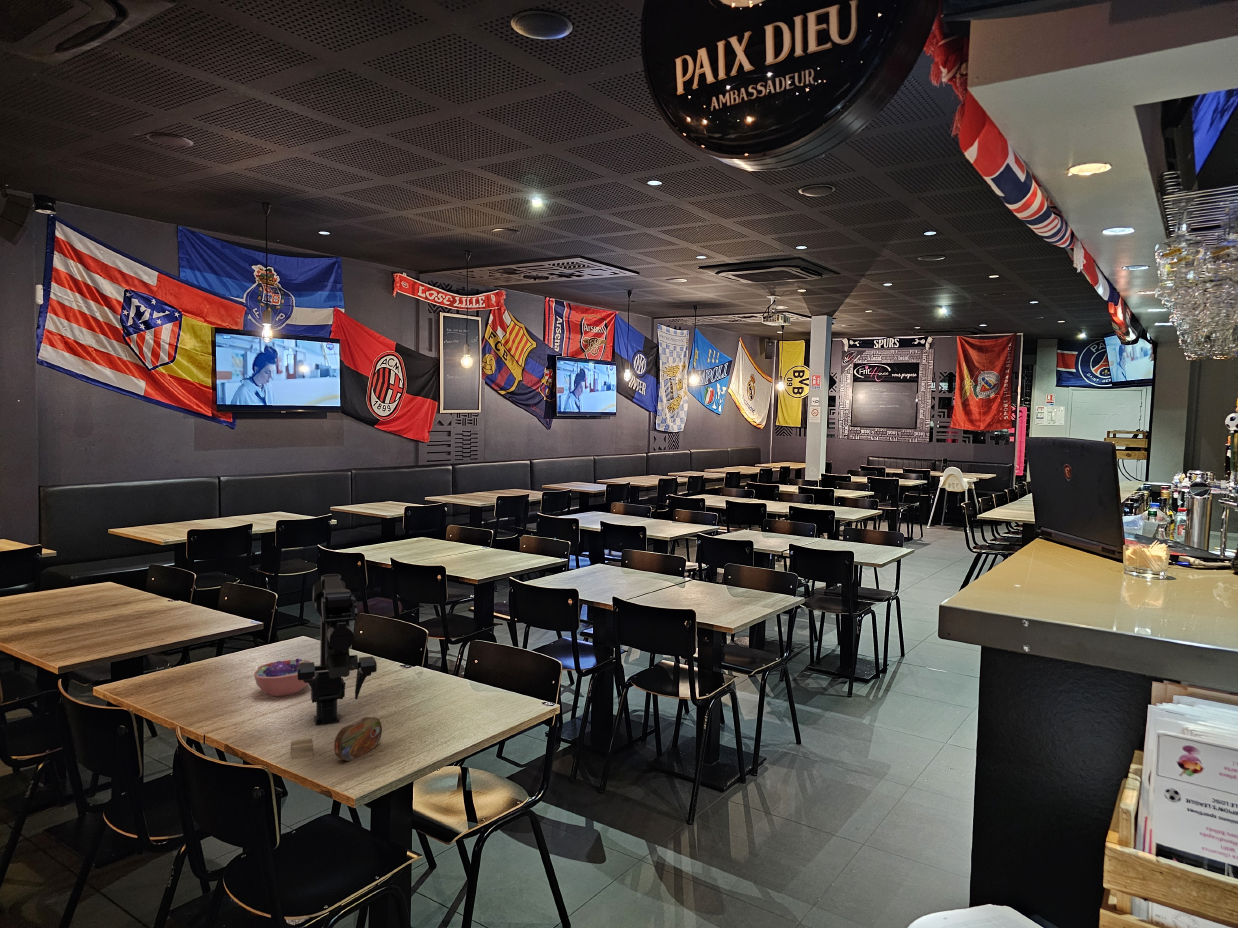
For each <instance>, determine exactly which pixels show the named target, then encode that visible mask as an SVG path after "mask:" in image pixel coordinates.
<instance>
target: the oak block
mask: <svg viewBox="0 0 1238 928" xmlns="http://www.w3.org/2000/svg"><path fill="white" fill-rule="evenodd" d="M313 741H314V740H313V737H305V738H298V739H291V740H290V756H291V760H295V759H302V758H303V759H304V758H309V757H314V742H313Z"/></svg>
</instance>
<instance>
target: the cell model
mask: <svg viewBox="0 0 1238 928" xmlns="http://www.w3.org/2000/svg"><path fill="white" fill-rule="evenodd" d="M310 662H311V661H310V660H307V659H302V658H298V657H297V658H295V659H288V660H277V661H274V662H268V663H265V664H262V665H259V666H258V667H257V670H256V671H255V672H254V673H253V677H254V680H255V685H256V687H258V688H259V689H260V690H261V691H263V693H265V694H266V695H270V696H272V697H277V698H278V697H279V698H280V697H286V696H290V695H293V694H296V693H298V692H300V691H301V690H302V689H304V688H305V687H306V686H308V685H309V684H308V683H304V682H303V680H298V676H297V666H298V665H299V664H300V663H310Z"/></svg>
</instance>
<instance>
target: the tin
mask: <svg viewBox="0 0 1238 928" xmlns="http://www.w3.org/2000/svg"><path fill="white" fill-rule="evenodd" d="M382 733H383V726H382V723H381V720H380V719H379V718H378V717H376V716H373V717H372V716H371V717H370V716H365V717H362V718H361V719H359V720H356V721H354V722H352V723H351V724H348V725H346V726H344V727H342V728H340V730H339V731H338V733H337V735H336V737H335V738H334V749H333V750H334V754H335V756H336V758H337V759H339V760H342V761H346V762H351V761H354V760H356V759H357V758H359V757H361V756H362V755H364V754H366V753H368V752H370V751H372V750H374V749H376V747H377V746H378V744H379V742H380V741H381V737H382Z"/></svg>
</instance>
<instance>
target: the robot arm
mask: <svg viewBox="0 0 1238 928" xmlns="http://www.w3.org/2000/svg"><path fill="white" fill-rule="evenodd" d="M320 576H321V577H320V579H319V580H318V581H317V582H315V583H314V584H313V587H312V603H313V604H314V606H315V607H314V608H315V610H316V612H317V613H318V614H319V616H320V654H319V655H320V656H319V657H320V660H319V661H320V663H319V665H315V662H314V661H312V662H311V661H310V663H300V664H299V665H298V666H297V676H298V680H303V682H304V683H308V684H307V685H309V686H310V687H309V688H310V700H311V703H312V704H314V703H316V704H315V705H316V707H315V708H316V709H315V710H316V712H315V715H314V716H313V720H314V723H315V725H324V724H330V723H331V724H332V723H337V722H340V721H341V719H340V716H339V713H338V700H343V699H344V698H345V697H346V693H345V692H346V682H345V681H344V678H347V677H349V676H350V671H356V677H355V678H356V679H355V680H356V681H355V689H354V700H358V698H359V695H360V692H361V690H362V687H363V684H364V682H365V679H366V678H367V677H371V675H372V673H377V672H378V671H377V670H378V666H377V660H376V659H375V657H374V656H373V655H372V656H371V655H370V656H363V657H362V656H361V657H358V655H357V654H353V655H350V648H351V647H352V646H353V644H354V642H355V635H354V632H353V630H352V628H351V626H350V622H351V621H356V617H358V606H357V605H358V604H357V598H355V594H352V592H351V590H350V589H348V588H346V583H345V581H344V580H342V575H341V574H338V573H331V574H330V573H329V574H328V573H327V574H324V575H320Z"/></svg>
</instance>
